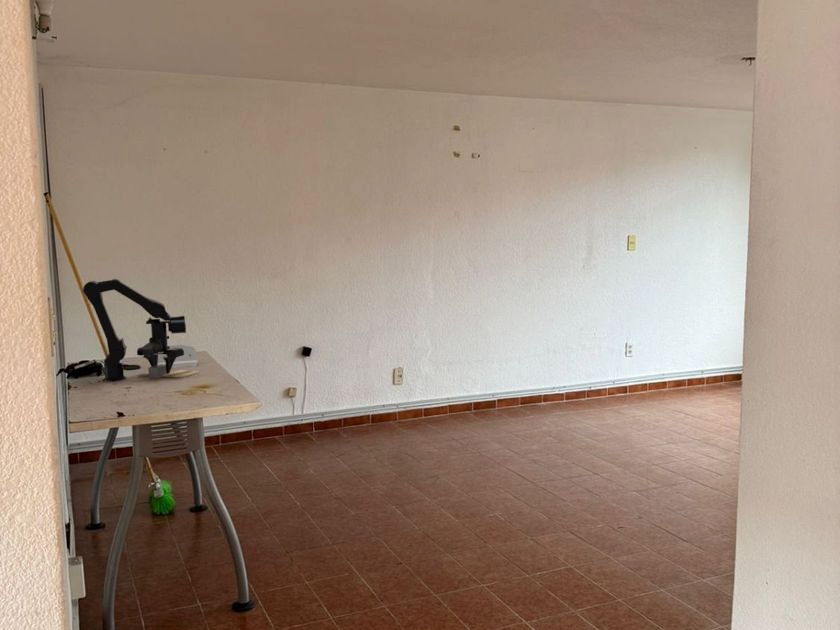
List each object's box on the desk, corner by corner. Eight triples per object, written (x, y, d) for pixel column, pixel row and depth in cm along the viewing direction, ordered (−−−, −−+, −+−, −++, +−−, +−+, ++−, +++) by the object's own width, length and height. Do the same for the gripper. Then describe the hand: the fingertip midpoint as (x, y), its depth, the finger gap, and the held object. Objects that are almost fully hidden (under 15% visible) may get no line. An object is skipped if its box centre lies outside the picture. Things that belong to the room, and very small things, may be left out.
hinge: (156, 369, 330) (155, 345, 332) (157, 370, 334) (155, 347, 336) (198, 366, 334) (196, 342, 336) (198, 367, 339) (196, 344, 341)
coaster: (162, 376, 315) (162, 374, 315) (178, 371, 324) (178, 369, 324) (183, 377, 312) (183, 376, 311) (199, 372, 321) (198, 371, 321)
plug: (157, 378, 312) (149, 377, 314) (172, 373, 321) (164, 372, 322) (156, 368, 312) (148, 367, 313) (172, 363, 320) (163, 362, 322)
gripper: (126, 336, 310) (128, 375, 312) (165, 338, 303) (167, 378, 306) (145, 332, 320) (147, 370, 323) (183, 334, 314) (185, 373, 316)
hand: (161, 373), depth 316 cm, fingers open, 6 cm apart
